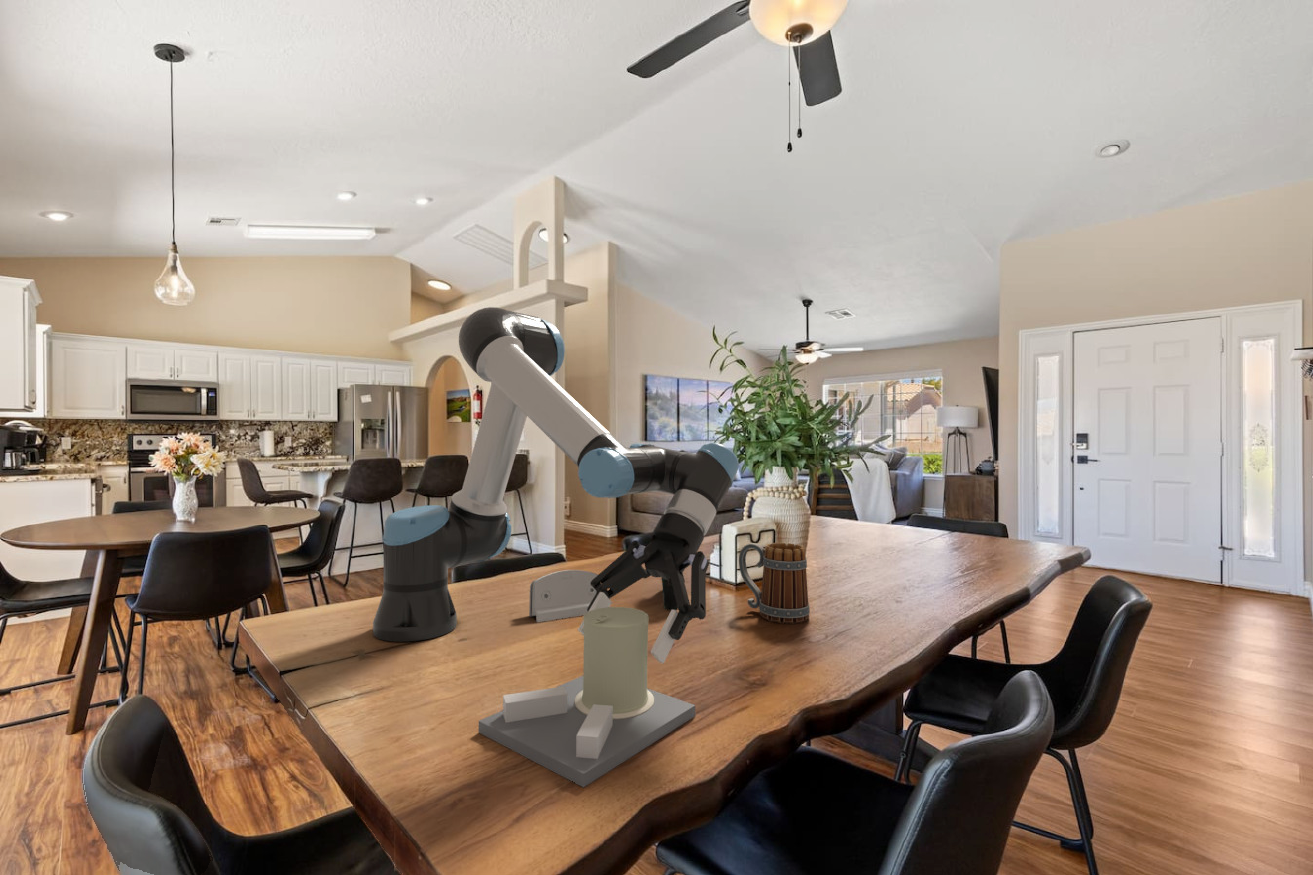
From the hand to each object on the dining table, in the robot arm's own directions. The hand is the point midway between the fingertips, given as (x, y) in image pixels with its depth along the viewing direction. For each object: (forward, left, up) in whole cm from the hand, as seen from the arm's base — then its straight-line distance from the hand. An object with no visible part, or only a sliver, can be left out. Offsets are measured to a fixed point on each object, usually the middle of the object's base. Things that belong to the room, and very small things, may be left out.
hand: (618, 646), depth 84 cm
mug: (-4, +55, -9) cm, 56 cm away
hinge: (-39, +28, -9) cm, 49 cm away
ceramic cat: (-28, +51, -9) cm, 59 cm away
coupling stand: (0, -5, -9) cm, 10 cm away
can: (0, 0, -8) cm, 8 cm away
